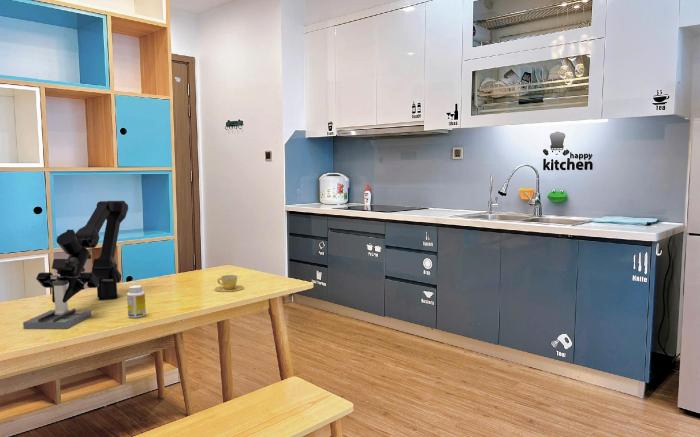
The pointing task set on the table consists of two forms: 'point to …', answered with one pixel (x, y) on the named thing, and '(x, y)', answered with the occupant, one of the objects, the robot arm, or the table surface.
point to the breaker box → (57, 320)
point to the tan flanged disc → (228, 283)
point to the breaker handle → (60, 296)
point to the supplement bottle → (136, 302)
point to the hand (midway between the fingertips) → (58, 302)
